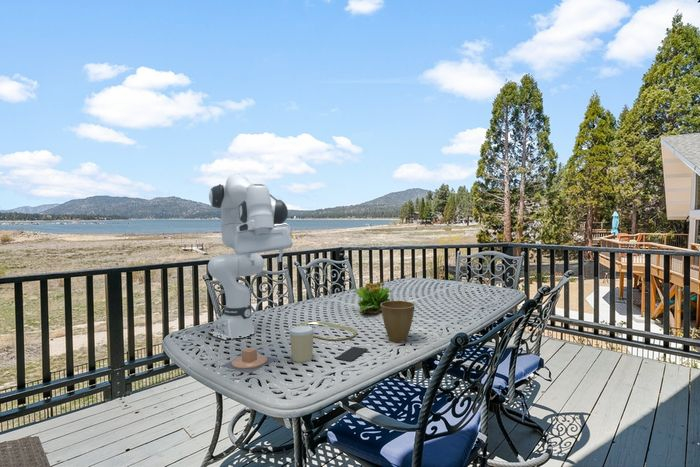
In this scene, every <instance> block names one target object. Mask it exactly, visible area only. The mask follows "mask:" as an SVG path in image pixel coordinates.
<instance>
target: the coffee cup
mask: <svg viewBox="0 0 700 467" xmlns="http://www.w3.org/2000/svg"><path fill="white" fill-rule="evenodd" d="M288 333H289V339H290V340H289V341H290V349H291V357H292V361H293V362H296V363H306V362H310V361H312V360H313V356H314V355H313V354H314V337H313V335H314V328H313V326H311V325H306V326H297V327H295V326H293V327H292V328H290V330H289V332H288Z"/></svg>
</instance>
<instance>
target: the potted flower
mask: <svg viewBox="0 0 700 467" xmlns="http://www.w3.org/2000/svg"><path fill="white" fill-rule="evenodd" d="M381 286H382V287H381ZM384 286H385V282H384V281H382V282H380V281H377V282H376V283H372V282H368V283H365V285H364V286H360V287H359V289H358V288H357V289H355V290H353V292H354V293H356V294H357V295H358V297H359V298H360V299H358V302H357V304H358V306H359V307H360V310H359V311H358V312H359V314H364V313H365V314H378V313H381V312H382V311H381V303H383V302H387V301H395V300H394V299H390V298H389V297H390V293H393V291H392V290H390V288H388V287H387V286H386V287H385V288H384Z"/></svg>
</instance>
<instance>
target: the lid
mask: <svg viewBox="0 0 700 467" xmlns="http://www.w3.org/2000/svg"><path fill="white" fill-rule="evenodd" d="M267 357H268V356H267ZM267 357H266V355H264V354H258V348H255V347H254V348H252V347H247V348H245V349H243V350H241V356H238V357H236V358H234V359H233V360H231V361H232V366H233V367H234V368H237V369H251V368H256V367H259V366H262V365H264V364H265V363H266V362H267Z"/></svg>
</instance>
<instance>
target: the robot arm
mask: <svg viewBox="0 0 700 467" xmlns="http://www.w3.org/2000/svg"><path fill="white" fill-rule="evenodd" d="M208 199H209V200H208V201H209V203H210V205H211V206H212V207H213V208H216V209H221V213H220V214H221V215H220V229H221V241H222V243H223V245H224V246H226V247H228V248H230V249H232V250H234V252H235V253H232V254H231V253H230V254H220V255H216V256H213V257H211V258H210V259H209V262H208V263H207V270H208V273H209V275H210V276H211V277H212V278H214V279H215V280H217V281H218V282H219V283H220V284H221V286H222V287H223V291H224V296H225V306H224V307H223V308H222V311H223V314H222V315H221V316H220V317H219V318H217V319H216V320H215V321H214V324H213V330H214V331H215V332H218V333H220V334H223V335H226V336H228V337H229V338H230V337H239V336H246V335H250V334H252V333H253V332H254V331H255V327H254V323H253V322H254V321H253V317H252V304H251V294H250V293H251V290H250V288H249V287H248V286H247V285H245V284H244V283H241V282H238V281H237V278H238V277H239V278H241V277H250V276H255V275H258V274H261V272H263V270H264V268H265V261H264V259H263V257H262V255H261V254H260V253H266V252H273V251H278V252H279V255H278V256H276V262H277V263H282V256H283V255H284V250H286V249H291V248H292V247H293V240H292V236H291V234H292V226H291V224H288V223H286V220H287V219H288V214H289V212H288V207H287V205H286V204H285V202H284V201H283V200H282V199H277V198H276V197H275V196H273V195H272V194H271V193H270V189H269V188H268V186H267V185H265V184H261V183H260V184H259V183H257V184H256V183H254V184H253V183H251V181H250V180H249V179H248V178H247V177H245V176H244V175H242V174H240V173H233V174H231V175H229V176H228V177H227V178H226V181H225V184H221V183H219V184H218V185H215V186H212V187H211V188H210V190H209V193H208ZM253 327H254V328H253Z"/></svg>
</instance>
